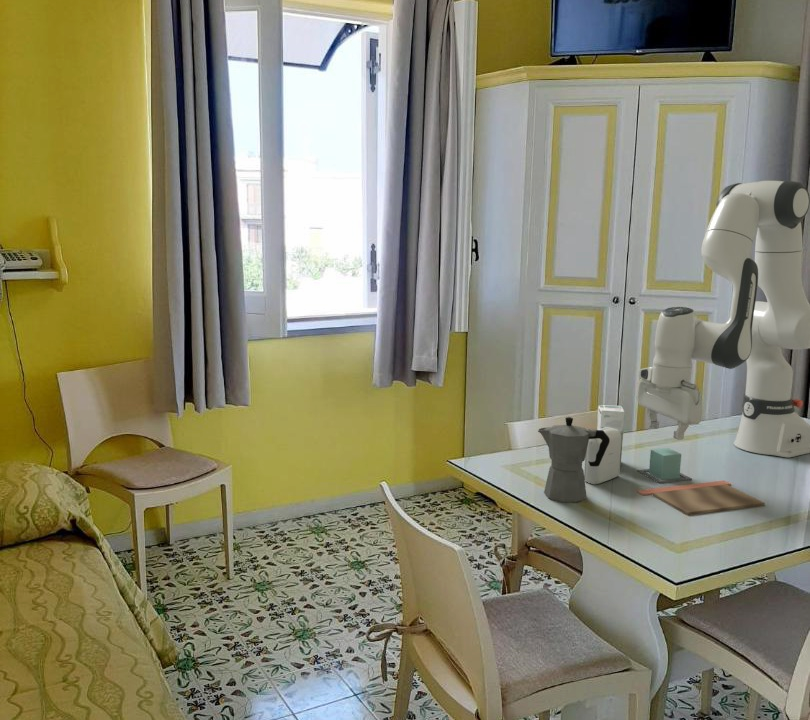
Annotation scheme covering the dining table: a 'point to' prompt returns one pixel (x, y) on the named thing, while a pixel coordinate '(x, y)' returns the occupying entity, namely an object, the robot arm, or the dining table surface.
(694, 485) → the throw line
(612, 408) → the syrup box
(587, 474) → the photo printer
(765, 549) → the dining table surface
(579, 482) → the coffeepot
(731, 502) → the board
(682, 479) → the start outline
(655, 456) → the teal block
